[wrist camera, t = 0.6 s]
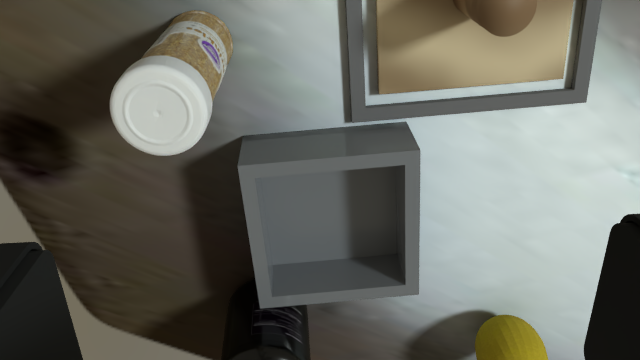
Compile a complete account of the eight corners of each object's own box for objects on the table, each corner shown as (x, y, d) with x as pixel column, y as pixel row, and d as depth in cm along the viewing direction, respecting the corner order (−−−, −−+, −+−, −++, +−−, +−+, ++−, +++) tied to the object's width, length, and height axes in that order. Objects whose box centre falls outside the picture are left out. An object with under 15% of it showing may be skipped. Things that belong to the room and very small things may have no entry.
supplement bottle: (293, 343, 51) (294, 464, 40) (219, 326, 49) (200, 446, 39) (318, 284, 48) (327, 398, 37) (241, 265, 46) (227, 377, 36)
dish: (243, 135, 41) (237, 165, 37) (406, 121, 41) (420, 149, 37) (262, 268, 47) (260, 308, 42) (406, 255, 47) (418, 294, 42)
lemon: (459, 306, 50) (487, 375, 42) (521, 289, 49) (560, 357, 42) (470, 350, 52) (498, 422, 45) (529, 334, 52) (567, 405, 44)
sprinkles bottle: (247, 41, 38) (227, 112, 26) (204, 89, 39) (167, 176, 27) (193, -7, 36) (146, 44, 24) (150, 44, 38) (86, 116, 26)
